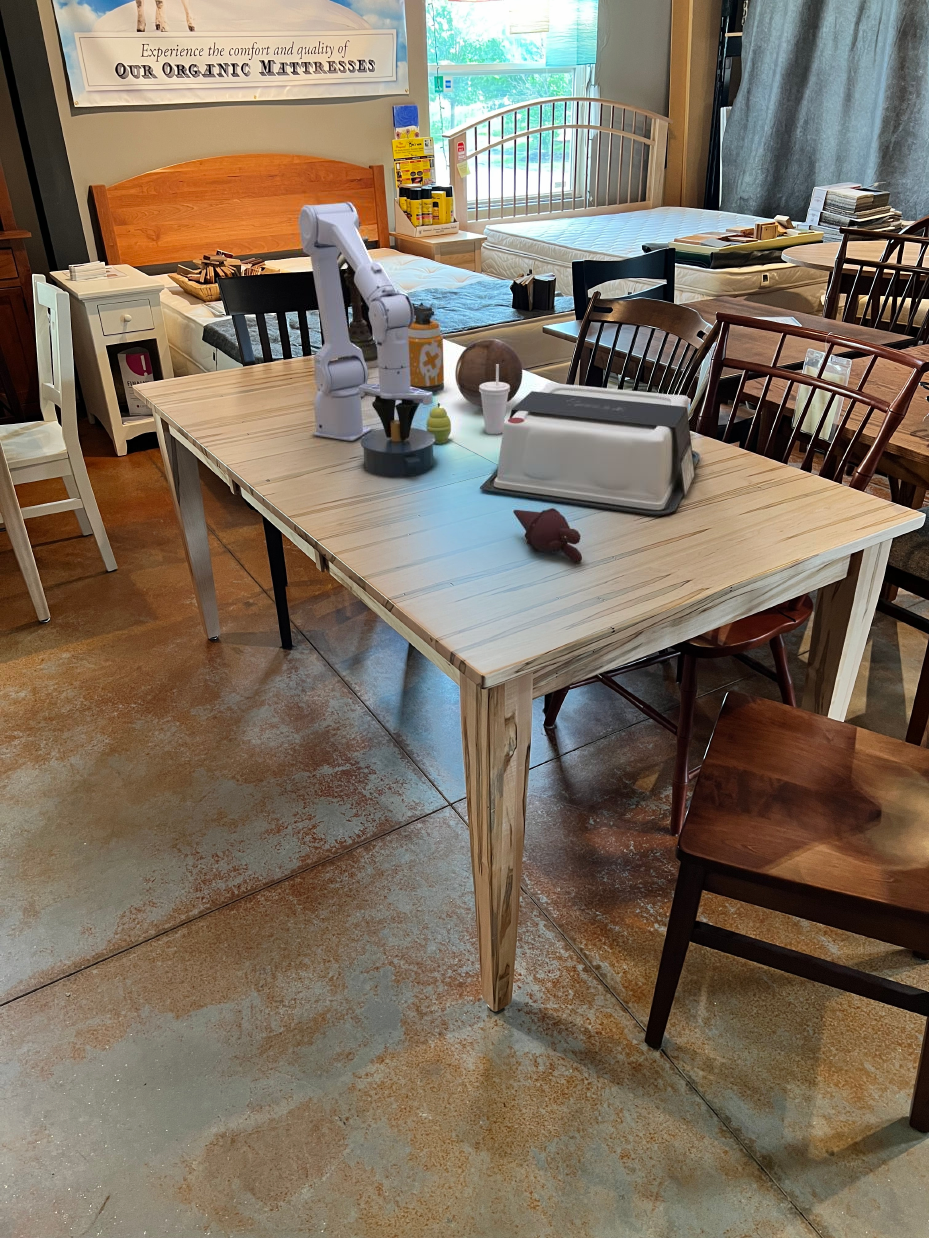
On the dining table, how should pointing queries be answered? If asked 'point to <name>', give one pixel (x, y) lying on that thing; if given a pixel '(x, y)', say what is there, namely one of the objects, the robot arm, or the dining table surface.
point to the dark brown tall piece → (358, 317)
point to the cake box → (597, 449)
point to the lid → (397, 441)
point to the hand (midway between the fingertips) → (397, 437)
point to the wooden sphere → (487, 368)
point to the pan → (398, 463)
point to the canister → (425, 351)
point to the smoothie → (494, 404)
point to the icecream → (549, 532)
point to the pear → (439, 424)
